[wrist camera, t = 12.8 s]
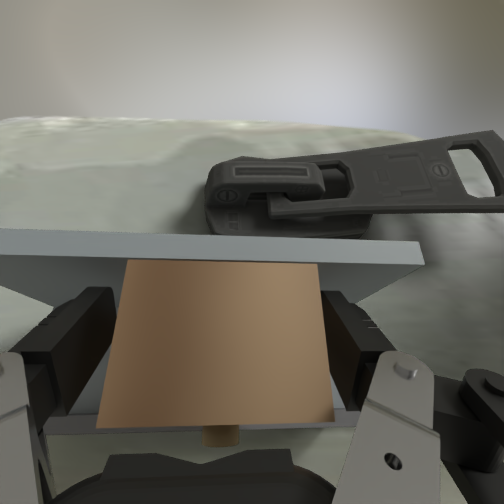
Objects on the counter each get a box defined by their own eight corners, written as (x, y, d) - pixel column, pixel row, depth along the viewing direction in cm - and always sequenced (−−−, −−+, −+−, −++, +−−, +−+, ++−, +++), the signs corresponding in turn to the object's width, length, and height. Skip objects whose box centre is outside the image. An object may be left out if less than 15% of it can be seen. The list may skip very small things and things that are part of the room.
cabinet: (268, 322, 17) (317, 264, 8) (271, 411, 15) (340, 463, 6) (180, 322, 17) (128, 259, 8) (172, 413, 15) (87, 473, 6)
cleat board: (322, 307, 22) (418, 241, 11) (335, 414, 19) (483, 466, 8) (88, 305, 20) (-69, 226, 10) (60, 421, 17) (-213, 496, 7)
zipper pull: (552, 212, 20) (199, 213, 17) (476, 251, 26) (205, 256, 23) (499, 122, 23) (201, 112, 21) (443, 174, 29) (206, 171, 27)
